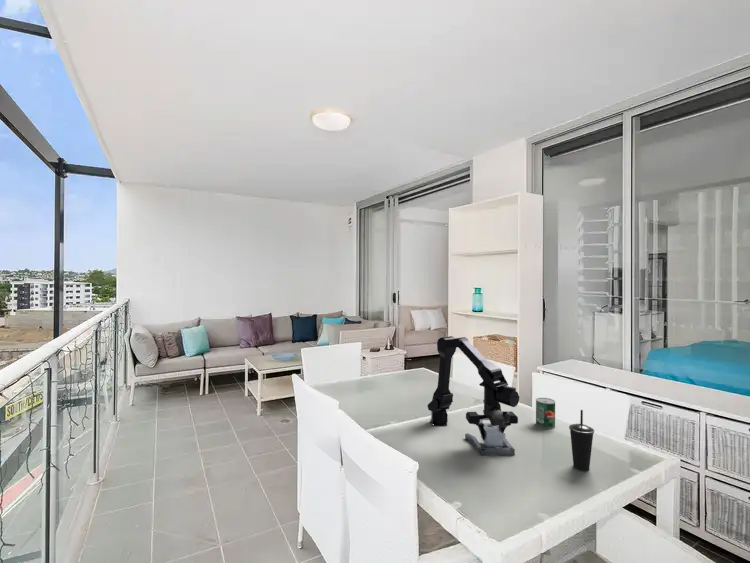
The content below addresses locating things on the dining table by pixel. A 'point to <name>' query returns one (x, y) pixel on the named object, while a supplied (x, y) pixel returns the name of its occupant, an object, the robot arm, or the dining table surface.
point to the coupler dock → (491, 451)
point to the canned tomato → (545, 412)
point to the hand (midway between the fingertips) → (491, 439)
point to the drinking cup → (581, 444)
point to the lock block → (492, 436)
